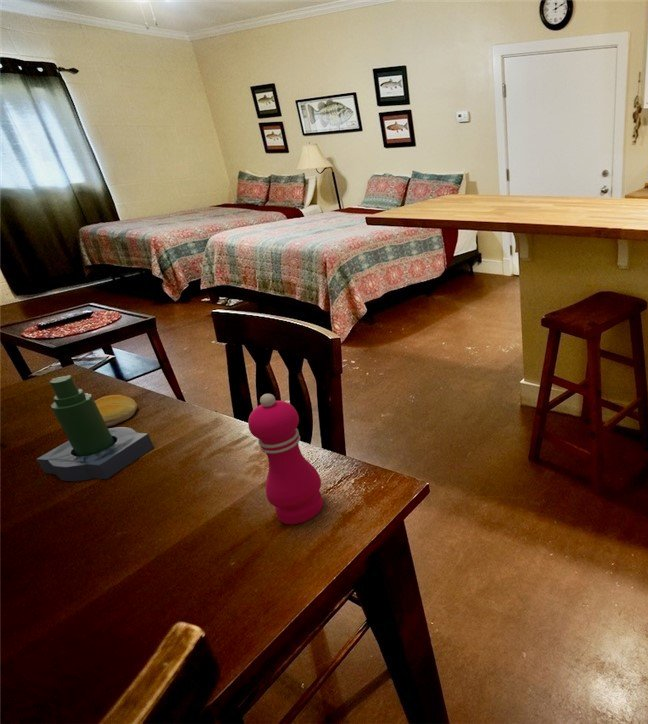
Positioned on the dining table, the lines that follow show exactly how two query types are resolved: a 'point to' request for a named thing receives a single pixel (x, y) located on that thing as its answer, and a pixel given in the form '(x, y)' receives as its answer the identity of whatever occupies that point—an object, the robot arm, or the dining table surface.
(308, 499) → the pepper mill
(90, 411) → the bottle
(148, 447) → the hole board
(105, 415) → the bread roll
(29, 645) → the dining table surface
